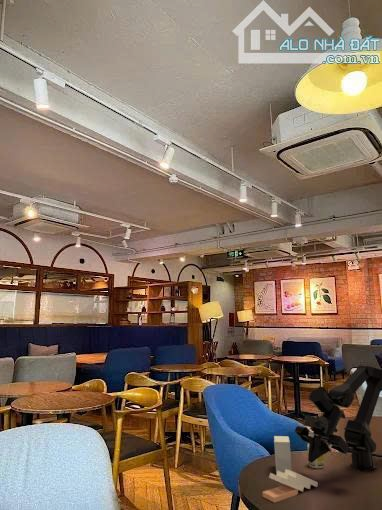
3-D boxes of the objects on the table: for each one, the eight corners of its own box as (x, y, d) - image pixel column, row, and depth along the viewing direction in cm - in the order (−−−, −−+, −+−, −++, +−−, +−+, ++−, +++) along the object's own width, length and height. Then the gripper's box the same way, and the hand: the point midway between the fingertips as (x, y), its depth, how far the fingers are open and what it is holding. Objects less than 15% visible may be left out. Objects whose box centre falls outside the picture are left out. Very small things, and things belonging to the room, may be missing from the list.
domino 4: (306, 477, 127) (285, 468, 124) (318, 482, 123) (297, 473, 119) (305, 482, 127) (284, 473, 123) (317, 487, 122) (295, 478, 119)
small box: (292, 474, 134) (290, 442, 136) (276, 473, 135) (274, 441, 137) (291, 466, 142) (289, 436, 144) (275, 465, 143) (273, 435, 145)
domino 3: (299, 479, 126) (277, 470, 122) (310, 484, 121) (288, 474, 118) (298, 484, 125) (276, 475, 122) (309, 489, 121) (287, 479, 117)
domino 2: (285, 484, 122) (262, 491, 117) (297, 489, 118) (274, 497, 113) (286, 489, 122) (262, 496, 117) (298, 494, 118) (274, 502, 113)
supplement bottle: (324, 464, 143) (321, 436, 145) (324, 469, 138) (321, 440, 139) (309, 463, 144) (306, 435, 146) (308, 468, 139) (306, 439, 141)
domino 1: (292, 481, 124) (270, 472, 121) (303, 486, 120) (281, 477, 116) (291, 486, 123) (269, 477, 120) (302, 491, 119) (280, 482, 116)
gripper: (296, 401, 140) (275, 439, 132) (339, 410, 124) (319, 453, 116) (312, 421, 142) (293, 459, 134) (357, 432, 127) (338, 475, 119)
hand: (309, 461), depth 126 cm, fingers closed
